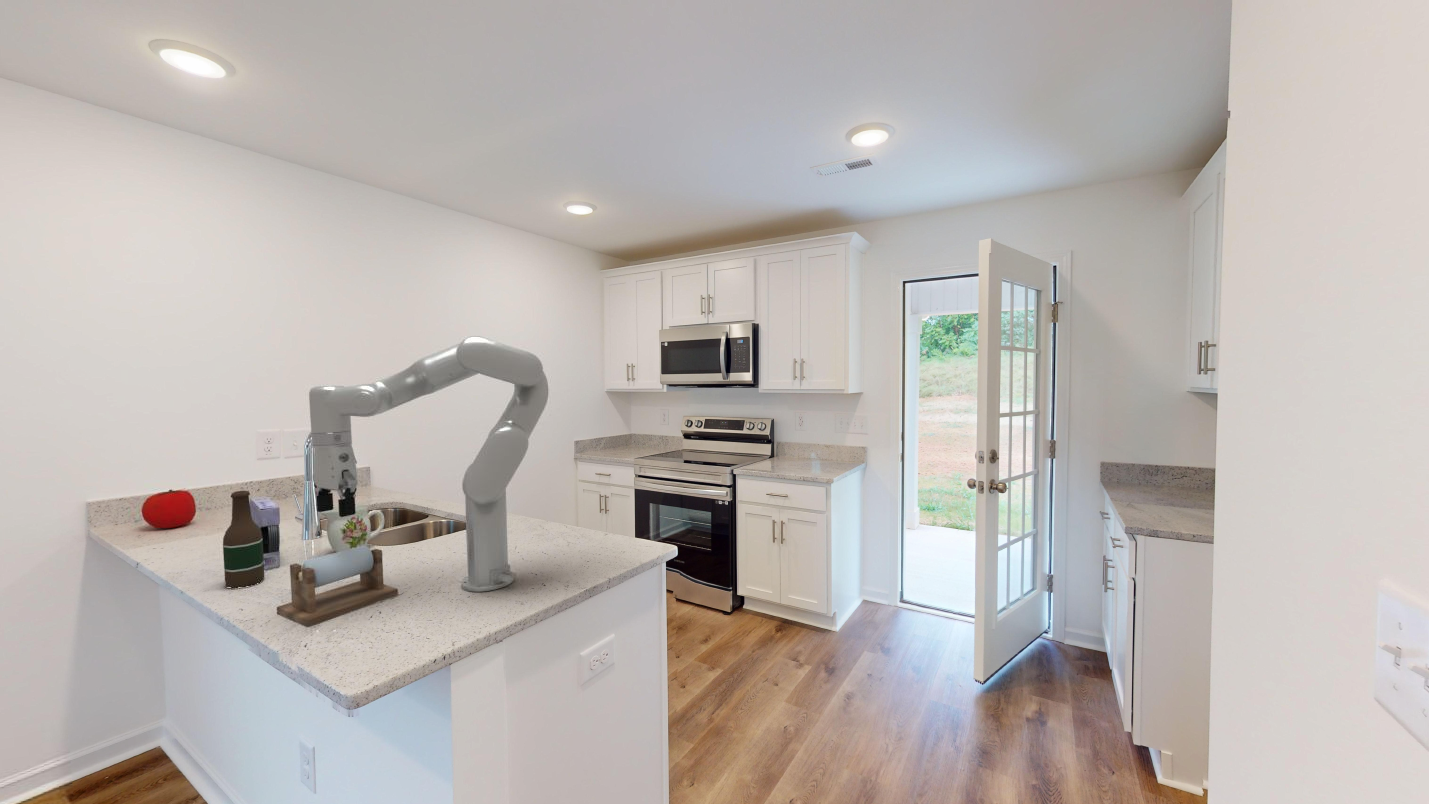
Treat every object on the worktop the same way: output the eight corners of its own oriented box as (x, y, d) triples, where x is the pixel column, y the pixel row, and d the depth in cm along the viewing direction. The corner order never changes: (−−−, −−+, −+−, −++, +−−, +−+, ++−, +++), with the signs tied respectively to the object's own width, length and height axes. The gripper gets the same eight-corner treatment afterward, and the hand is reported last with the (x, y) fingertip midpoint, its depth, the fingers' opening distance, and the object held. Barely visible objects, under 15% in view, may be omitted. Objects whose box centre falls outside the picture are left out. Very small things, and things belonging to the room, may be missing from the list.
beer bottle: (241, 578, 143) (236, 488, 142) (272, 577, 144) (267, 487, 143) (216, 590, 135) (211, 495, 134) (250, 588, 136) (244, 494, 135)
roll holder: (398, 594, 131) (396, 550, 130) (307, 627, 114) (305, 575, 114) (366, 584, 138) (364, 541, 137) (277, 613, 121) (274, 565, 121)
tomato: (202, 525, 197) (200, 488, 197) (149, 535, 186) (146, 495, 185) (188, 519, 206) (186, 484, 205) (136, 528, 194) (134, 491, 193)
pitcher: (393, 545, 170) (391, 502, 169) (327, 562, 155) (325, 514, 155) (376, 539, 176) (375, 498, 176) (311, 555, 161) (309, 509, 161)
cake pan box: (283, 568, 151) (280, 505, 150) (260, 573, 147) (256, 508, 146) (271, 553, 164) (268, 495, 163) (249, 557, 160) (246, 498, 159)
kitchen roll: (377, 574, 131) (382, 553, 130) (304, 597, 118) (309, 573, 116) (363, 559, 134) (369, 538, 132) (291, 579, 121) (296, 556, 119)
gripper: (369, 439, 123) (373, 513, 124) (330, 436, 132) (334, 505, 133) (333, 443, 117) (337, 521, 117) (294, 440, 125) (299, 513, 126)
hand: (336, 513), depth 125 cm, fingers open, 9 cm apart
